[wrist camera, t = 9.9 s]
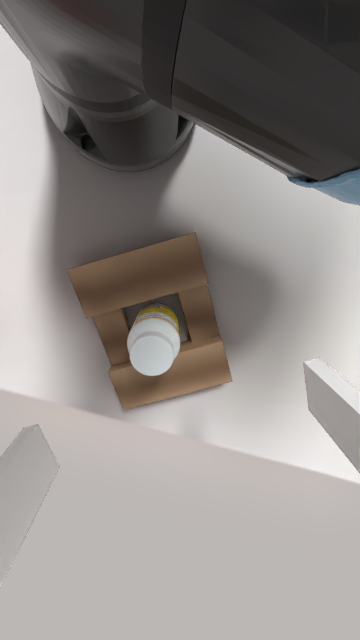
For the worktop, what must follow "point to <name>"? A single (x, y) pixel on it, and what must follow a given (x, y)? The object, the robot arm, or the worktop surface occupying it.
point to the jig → (143, 285)
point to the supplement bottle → (154, 340)
